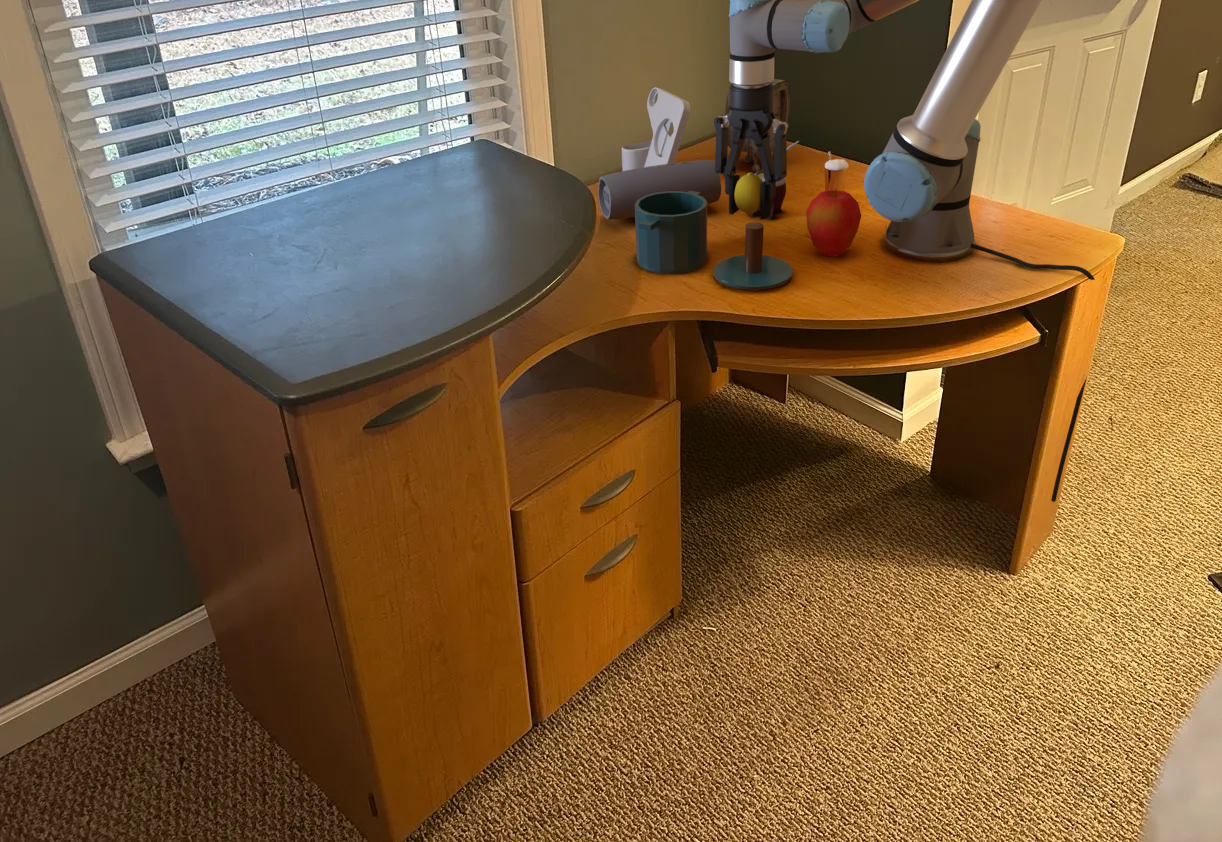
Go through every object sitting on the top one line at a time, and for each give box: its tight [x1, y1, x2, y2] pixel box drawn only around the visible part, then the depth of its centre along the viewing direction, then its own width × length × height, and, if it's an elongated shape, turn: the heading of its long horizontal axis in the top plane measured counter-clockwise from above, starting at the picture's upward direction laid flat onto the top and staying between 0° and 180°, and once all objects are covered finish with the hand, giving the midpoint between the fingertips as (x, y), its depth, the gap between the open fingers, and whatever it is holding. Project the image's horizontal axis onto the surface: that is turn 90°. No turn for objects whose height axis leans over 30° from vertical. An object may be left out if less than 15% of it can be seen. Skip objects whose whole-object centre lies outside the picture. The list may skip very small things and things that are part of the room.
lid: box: [713, 221, 794, 291], centre depth 166 cm, size 13×13×9 cm
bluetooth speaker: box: [597, 159, 722, 220], centre depth 192 cm, size 23×9×10 cm, turn 108°
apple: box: [805, 189, 862, 257], centre depth 172 cm, size 9×9×12 cm
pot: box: [634, 191, 708, 275], centre depth 173 cm, size 12×18×10 cm
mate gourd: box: [751, 140, 800, 220], centre depth 189 cm, size 8×8×15 cm
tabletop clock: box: [724, 78, 791, 173], centre depth 213 cm, size 14×9×25 cm, turn 147°
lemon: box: [735, 171, 763, 217], centre depth 177 cm, size 6×6×8 cm
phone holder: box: [621, 87, 691, 172], centre depth 207 cm, size 17×10×18 cm, turn 23°
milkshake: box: [824, 150, 850, 191], centre depth 193 cm, size 5×5×10 cm
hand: (749, 213), depth 179 cm, fingers closed on lemon, 5 cm apart
